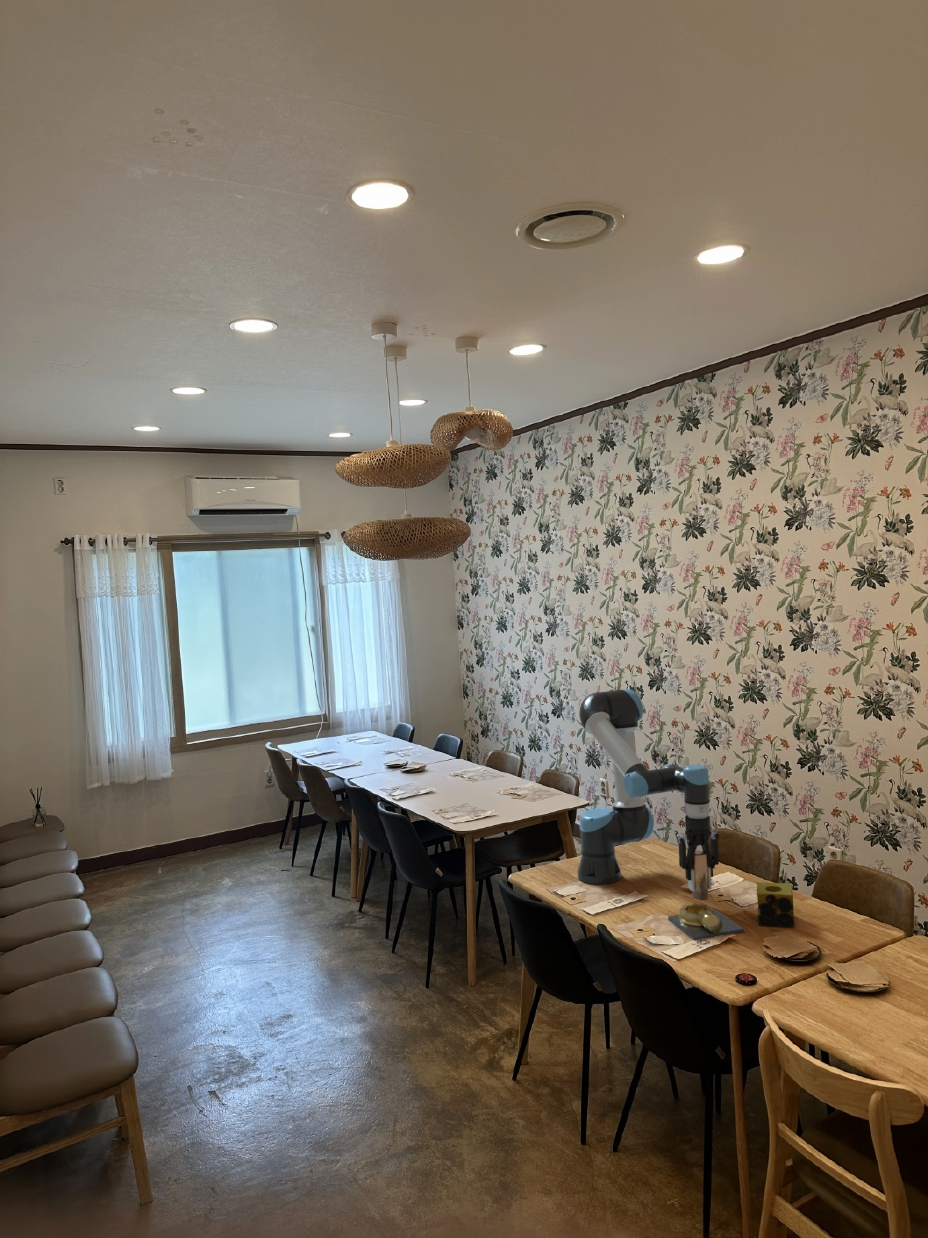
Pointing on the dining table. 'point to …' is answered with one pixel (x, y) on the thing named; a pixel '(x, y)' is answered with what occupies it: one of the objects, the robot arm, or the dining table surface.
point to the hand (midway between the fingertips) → (699, 888)
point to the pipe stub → (700, 876)
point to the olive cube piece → (775, 904)
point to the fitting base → (704, 931)
